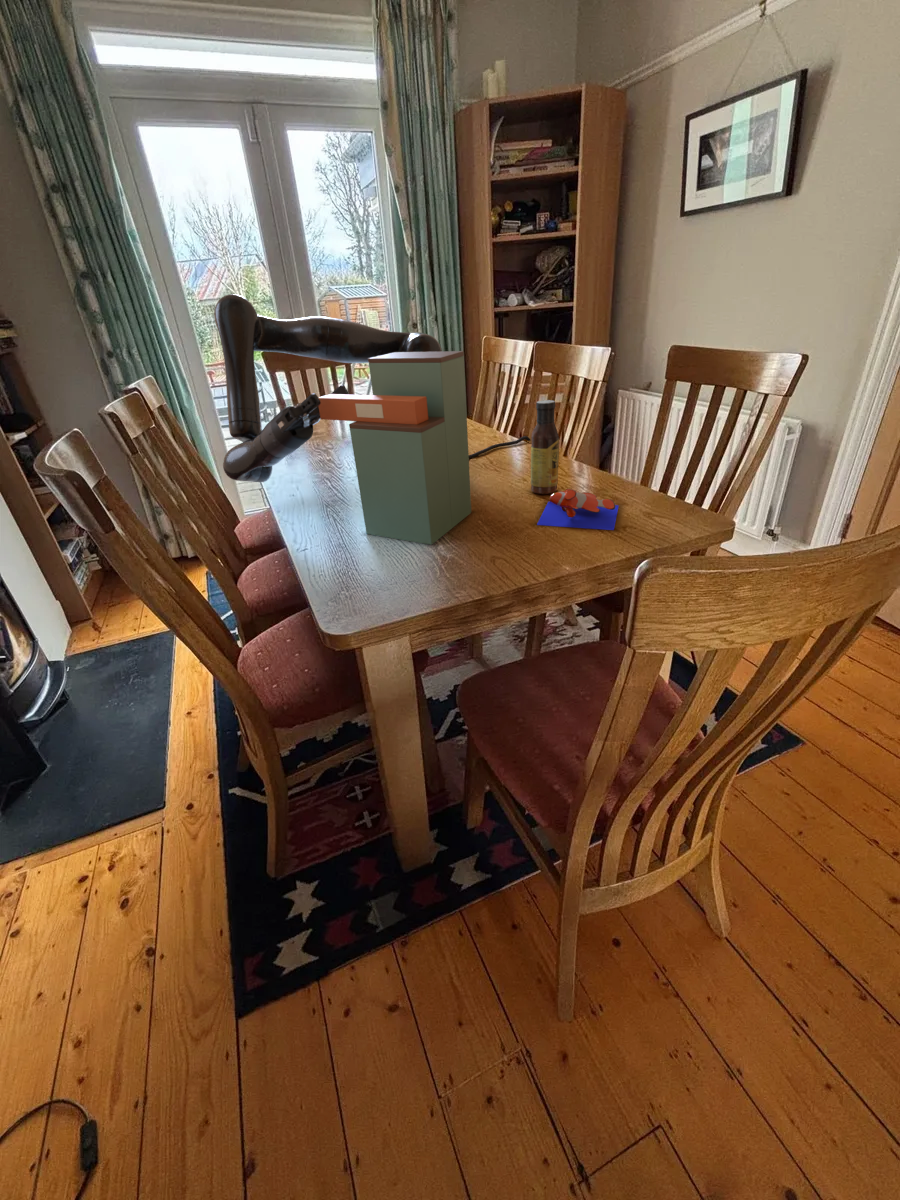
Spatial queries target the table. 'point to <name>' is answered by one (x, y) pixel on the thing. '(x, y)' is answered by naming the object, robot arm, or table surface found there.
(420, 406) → the box
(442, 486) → the stand
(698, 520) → the table surface
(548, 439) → the sauce bottle
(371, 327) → the robot arm
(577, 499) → the fish
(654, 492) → the table surface
